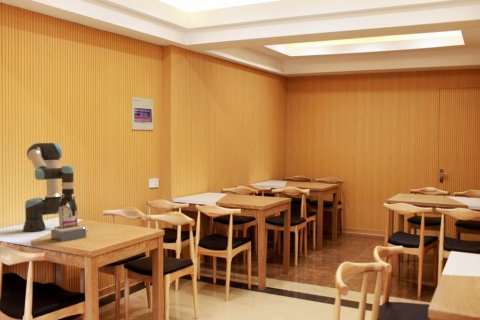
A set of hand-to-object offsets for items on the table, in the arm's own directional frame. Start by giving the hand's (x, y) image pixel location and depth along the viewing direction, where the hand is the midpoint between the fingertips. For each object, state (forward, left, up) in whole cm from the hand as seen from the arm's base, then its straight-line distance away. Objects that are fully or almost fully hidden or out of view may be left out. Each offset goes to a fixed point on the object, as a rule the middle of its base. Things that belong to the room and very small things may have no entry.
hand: (68, 219), depth 312 cm
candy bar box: (0, 0, -7) cm, 7 cm away
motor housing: (0, +3, -13) cm, 13 cm away
